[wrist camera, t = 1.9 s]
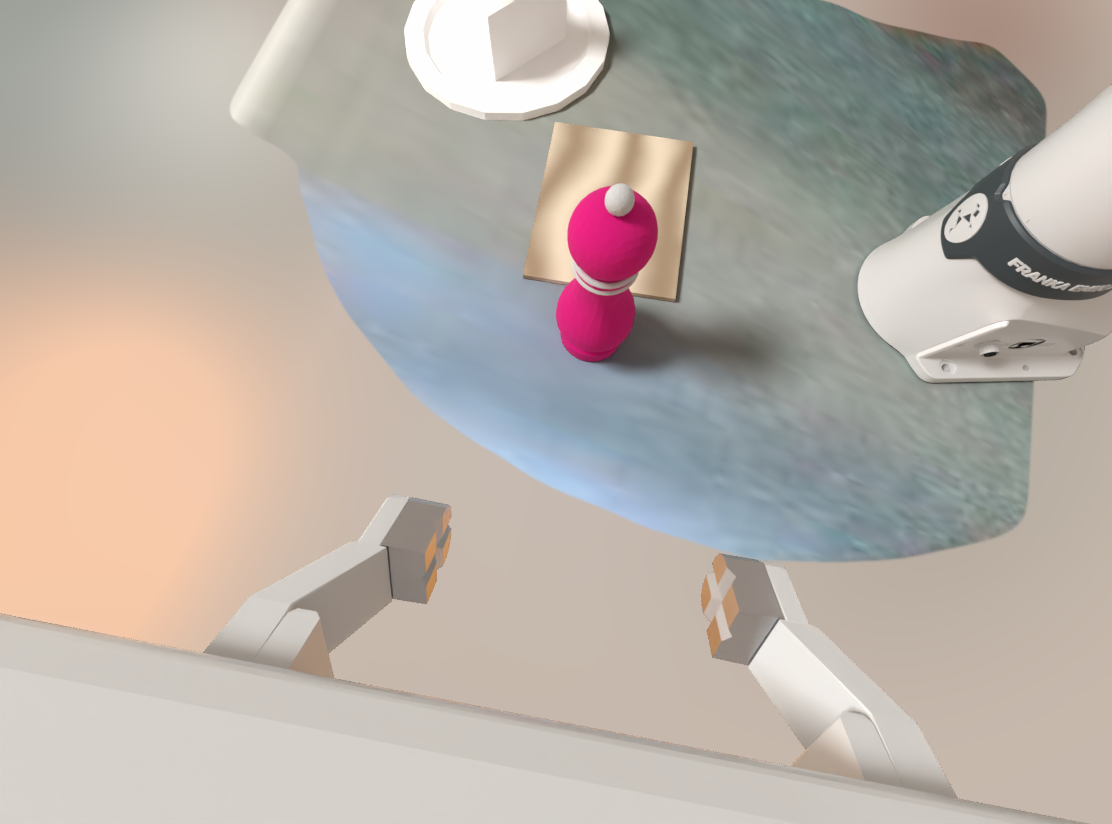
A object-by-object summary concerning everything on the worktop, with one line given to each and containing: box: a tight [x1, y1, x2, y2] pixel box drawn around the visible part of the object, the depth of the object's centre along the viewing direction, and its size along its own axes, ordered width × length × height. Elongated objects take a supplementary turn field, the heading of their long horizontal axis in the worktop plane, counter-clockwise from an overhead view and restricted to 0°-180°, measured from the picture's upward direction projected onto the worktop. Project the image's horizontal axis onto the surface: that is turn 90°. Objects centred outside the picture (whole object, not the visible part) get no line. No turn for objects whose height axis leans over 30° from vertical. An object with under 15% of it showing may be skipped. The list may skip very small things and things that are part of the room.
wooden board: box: [523, 122, 693, 302], centre depth 48 cm, size 16×20×1 cm
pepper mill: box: [556, 183, 658, 362], centre depth 35 cm, size 7×7×20 cm
